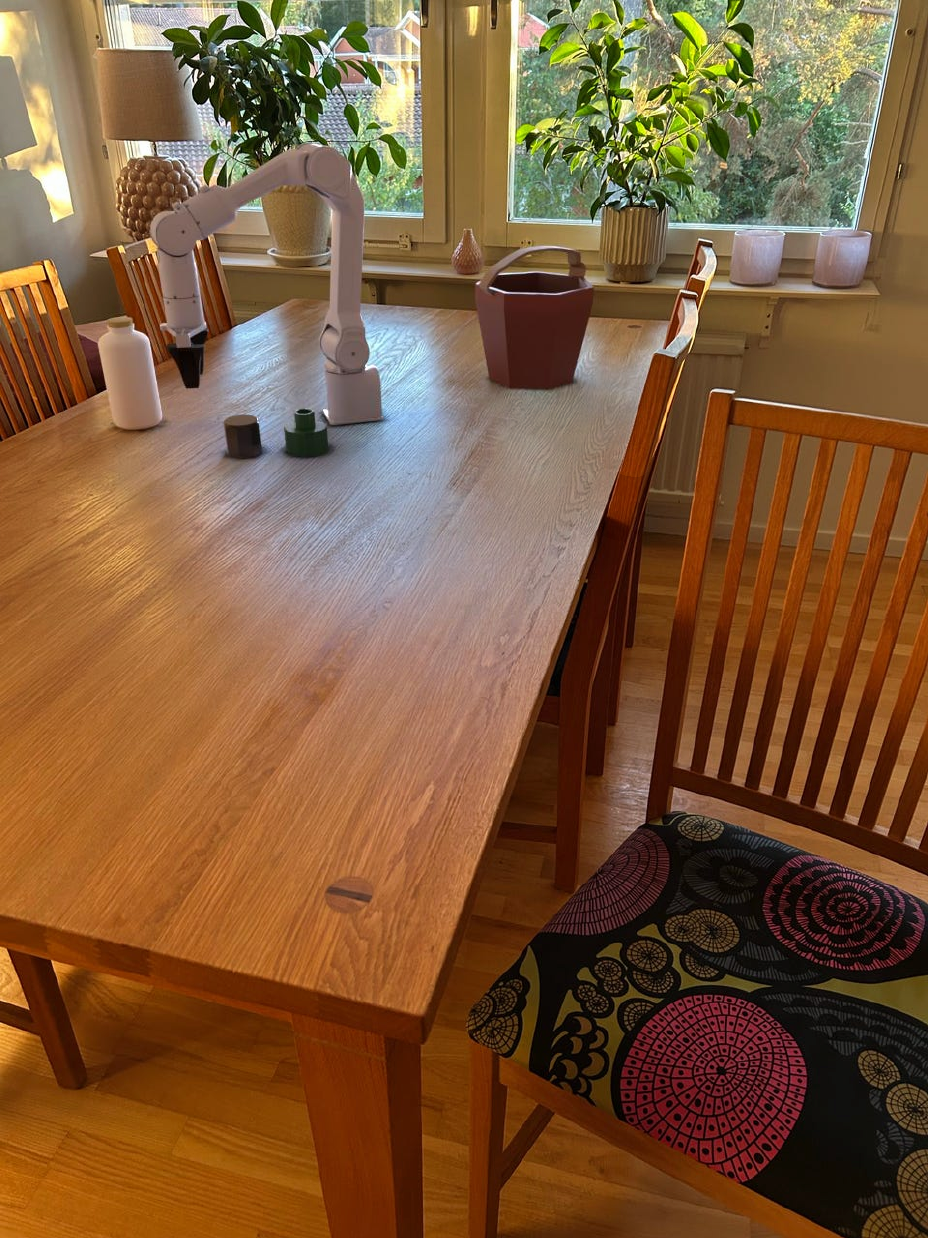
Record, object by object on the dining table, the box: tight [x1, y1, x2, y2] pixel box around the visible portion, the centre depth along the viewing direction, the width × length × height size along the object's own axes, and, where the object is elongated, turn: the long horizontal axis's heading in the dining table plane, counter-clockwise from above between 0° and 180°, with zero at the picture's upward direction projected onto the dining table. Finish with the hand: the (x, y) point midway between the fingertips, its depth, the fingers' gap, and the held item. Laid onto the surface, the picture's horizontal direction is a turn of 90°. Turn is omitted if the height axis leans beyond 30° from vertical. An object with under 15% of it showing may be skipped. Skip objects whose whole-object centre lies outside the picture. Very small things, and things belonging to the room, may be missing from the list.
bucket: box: [474, 245, 595, 391], centre depth 182 cm, size 24×22×25 cm
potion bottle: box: [97, 316, 163, 431], centre depth 159 cm, size 8×8×18 cm
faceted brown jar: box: [222, 414, 263, 460], centre depth 150 cm, size 5×5×6 cm
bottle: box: [283, 407, 329, 458], centre depth 151 cm, size 7×7×6 cm
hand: (194, 380), depth 152 cm, fingers open, 7 cm apart
